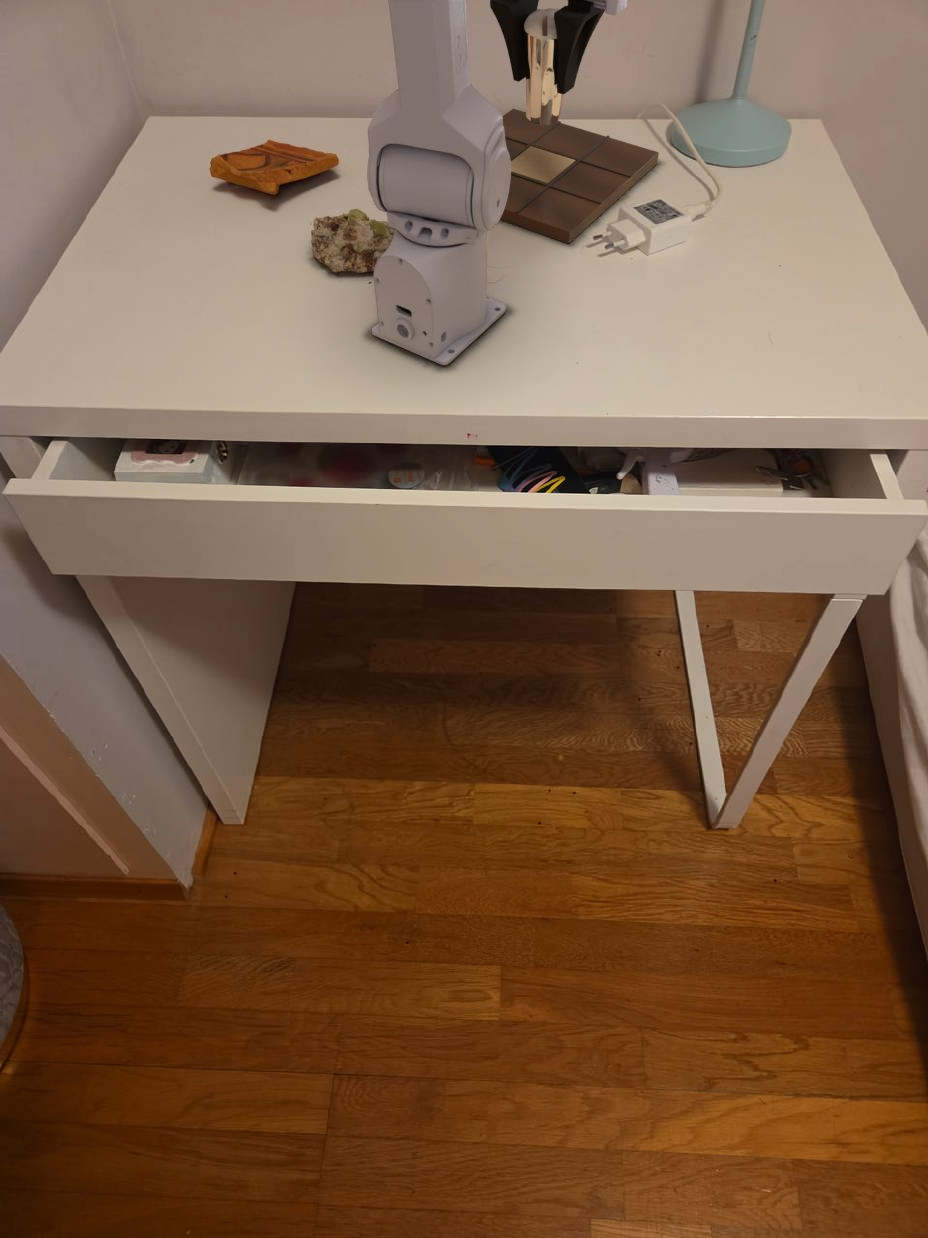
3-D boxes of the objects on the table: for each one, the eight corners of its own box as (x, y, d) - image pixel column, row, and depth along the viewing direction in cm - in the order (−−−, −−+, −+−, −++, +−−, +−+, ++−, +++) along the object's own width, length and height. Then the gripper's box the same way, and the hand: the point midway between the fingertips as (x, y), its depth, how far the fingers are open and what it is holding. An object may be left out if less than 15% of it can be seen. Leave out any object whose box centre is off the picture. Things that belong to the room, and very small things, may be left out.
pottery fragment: (202, 159, 88) (263, 101, 92) (218, 199, 92) (275, 143, 96) (282, 188, 85) (341, 127, 89) (294, 229, 89) (350, 169, 93)
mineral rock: (290, 249, 80) (319, 182, 82) (301, 283, 84) (329, 218, 86) (403, 270, 78) (429, 202, 81) (409, 304, 82) (434, 237, 85)
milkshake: (513, 130, 85) (518, 12, 77) (524, 104, 88) (530, -12, 80) (560, 135, 85) (570, 17, 77) (569, 109, 88) (580, -7, 80)
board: (568, 243, 84) (570, 230, 83) (416, 189, 90) (415, 177, 89) (657, 163, 92) (659, 150, 91) (512, 119, 98) (513, 106, 97)
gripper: (654, -94, 72) (631, 85, 83) (506, -123, 77) (503, 50, 88) (612, -68, 69) (594, 115, 80) (460, -100, 74) (462, 76, 85)
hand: (543, 83), depth 84 cm, fingers closed on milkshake, 4 cm apart
